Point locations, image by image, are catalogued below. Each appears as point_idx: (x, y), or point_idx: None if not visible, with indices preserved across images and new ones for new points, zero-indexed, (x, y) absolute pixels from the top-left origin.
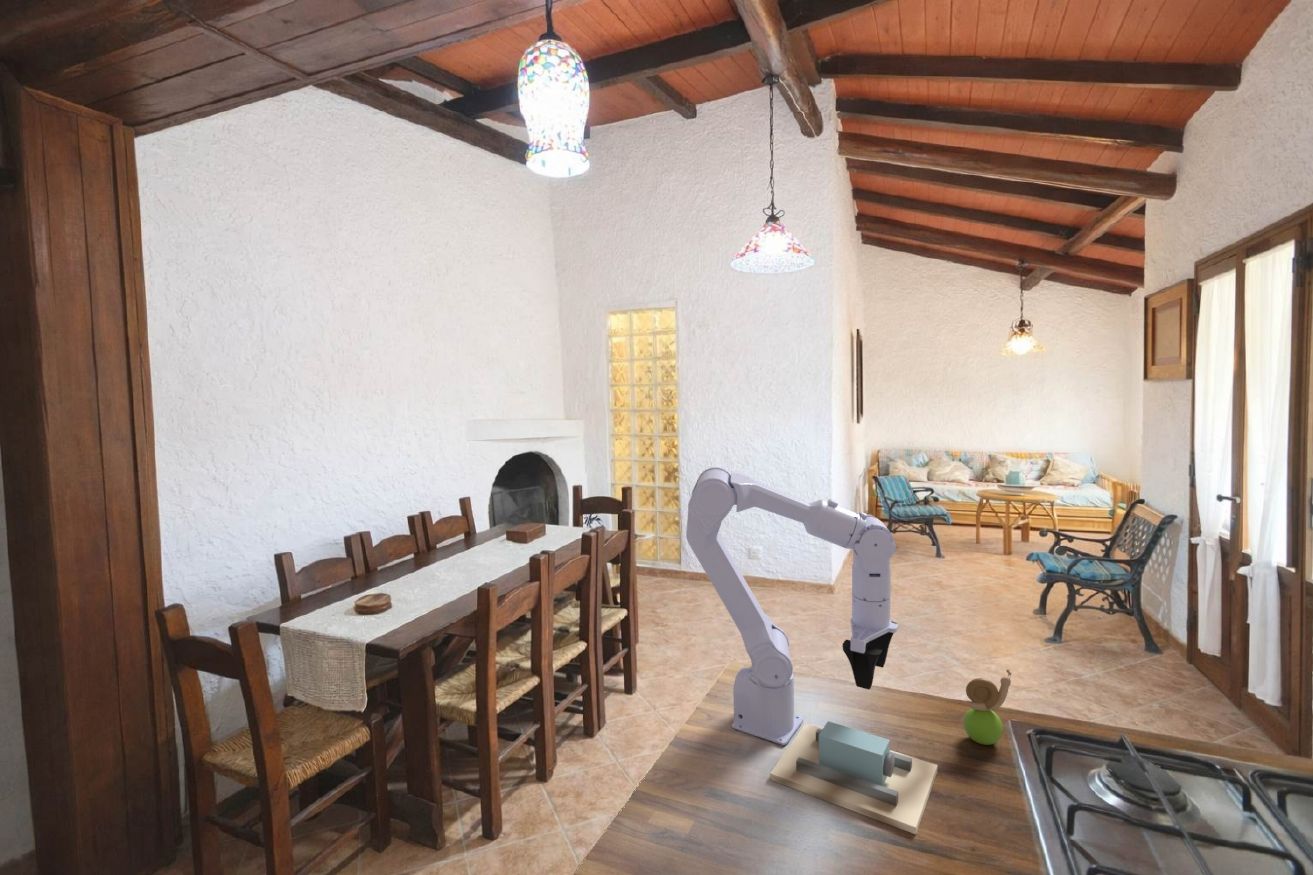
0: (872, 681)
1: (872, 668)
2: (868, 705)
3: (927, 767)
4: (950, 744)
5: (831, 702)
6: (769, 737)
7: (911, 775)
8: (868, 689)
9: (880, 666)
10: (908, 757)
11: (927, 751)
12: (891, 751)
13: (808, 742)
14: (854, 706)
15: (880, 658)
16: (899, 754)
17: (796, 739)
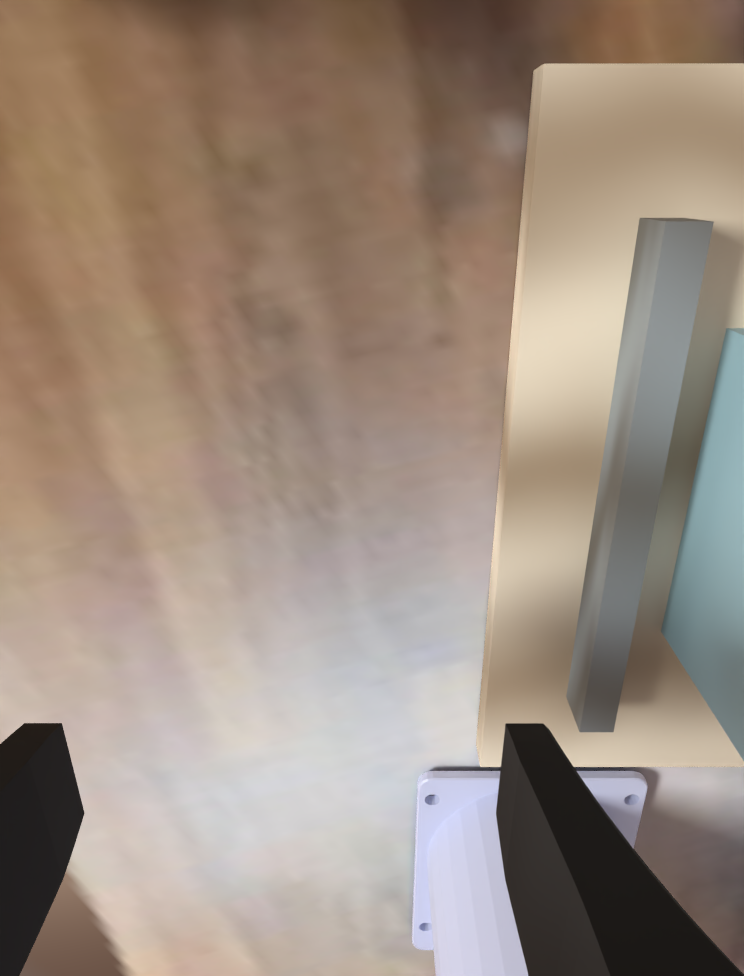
0: (535, 768)
1: (738, 972)
2: (100, 576)
3: (599, 124)
4: (192, 44)
5: (194, 720)
6: (632, 834)
7: (718, 202)
8: (548, 730)
9: (63, 745)
10: (663, 245)
11: (354, 176)
12: (523, 364)
13: (624, 716)
14: (157, 628)
15: (22, 822)
16: (653, 306)
17: (621, 759)
